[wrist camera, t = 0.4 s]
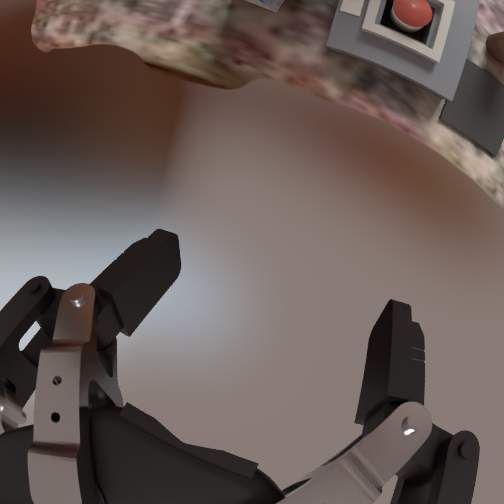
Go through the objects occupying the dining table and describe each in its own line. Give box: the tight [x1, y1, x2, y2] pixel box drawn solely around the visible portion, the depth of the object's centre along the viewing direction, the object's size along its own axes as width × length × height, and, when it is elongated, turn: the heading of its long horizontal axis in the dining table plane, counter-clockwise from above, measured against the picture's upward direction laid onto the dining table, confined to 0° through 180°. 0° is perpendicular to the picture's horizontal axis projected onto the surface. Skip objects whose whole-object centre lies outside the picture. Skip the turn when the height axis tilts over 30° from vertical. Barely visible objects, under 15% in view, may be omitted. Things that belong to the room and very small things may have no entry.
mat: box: [439, 59, 504, 156], centre depth 21 cm, size 9×9×1 cm
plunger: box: [390, 0, 432, 33], centre depth 16 cm, size 4×4×4 cm
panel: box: [326, 0, 480, 101], centre depth 17 cm, size 14×14×6 cm
